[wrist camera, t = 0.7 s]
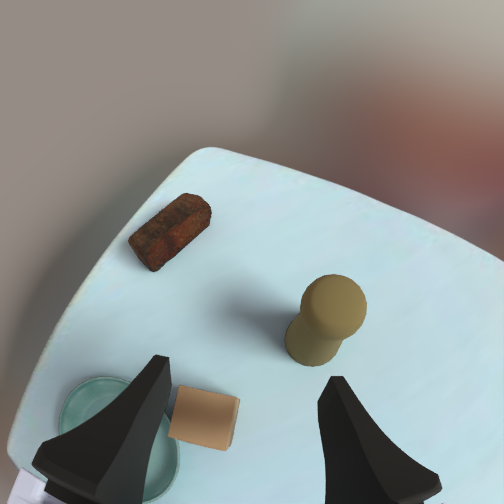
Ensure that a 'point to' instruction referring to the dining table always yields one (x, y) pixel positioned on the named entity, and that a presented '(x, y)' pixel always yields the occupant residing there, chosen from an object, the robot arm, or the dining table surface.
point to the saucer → (164, 448)
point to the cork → (325, 319)
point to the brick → (170, 230)
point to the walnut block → (204, 418)
